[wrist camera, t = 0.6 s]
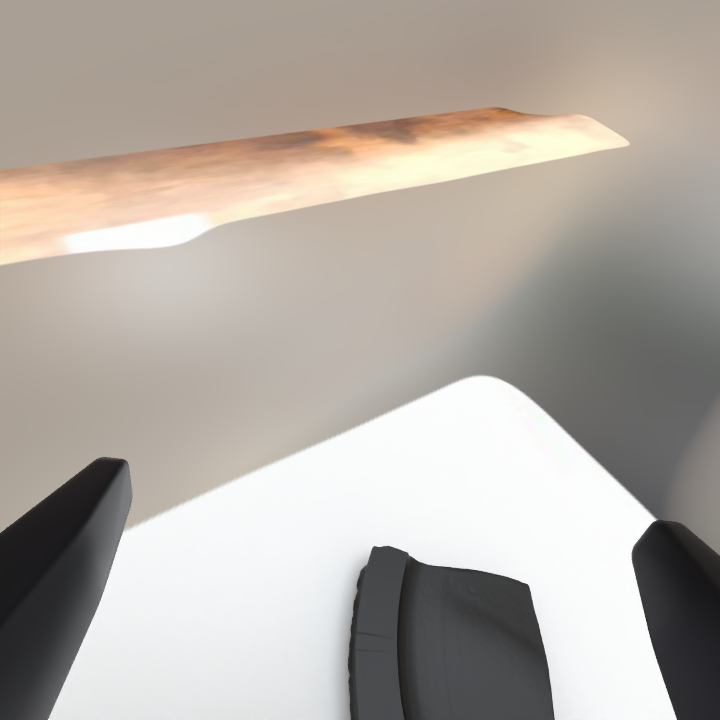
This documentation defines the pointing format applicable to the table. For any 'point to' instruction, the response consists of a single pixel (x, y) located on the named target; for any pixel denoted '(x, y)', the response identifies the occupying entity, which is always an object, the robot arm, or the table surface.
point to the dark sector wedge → (444, 644)
